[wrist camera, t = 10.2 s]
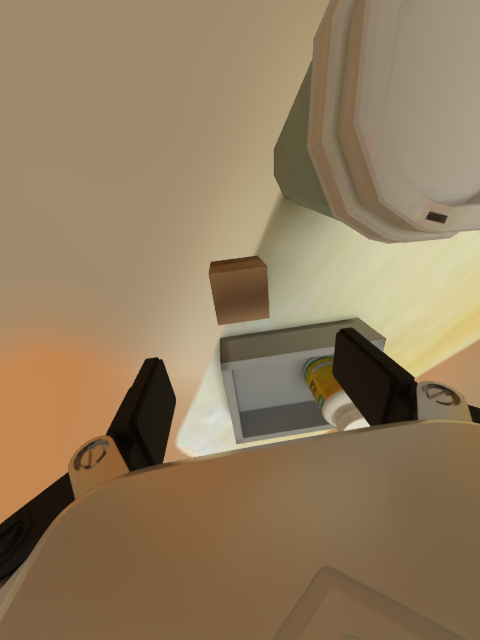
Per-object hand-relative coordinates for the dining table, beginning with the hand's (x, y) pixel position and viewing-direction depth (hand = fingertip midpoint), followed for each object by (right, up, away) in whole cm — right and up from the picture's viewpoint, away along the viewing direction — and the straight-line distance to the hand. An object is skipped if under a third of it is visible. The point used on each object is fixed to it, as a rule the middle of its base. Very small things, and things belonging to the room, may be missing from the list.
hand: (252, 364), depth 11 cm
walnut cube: (-1, +7, +12) cm, 14 cm away
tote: (+6, -5, +19) cm, 20 cm away
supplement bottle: (+11, -4, +18) cm, 21 cm away
